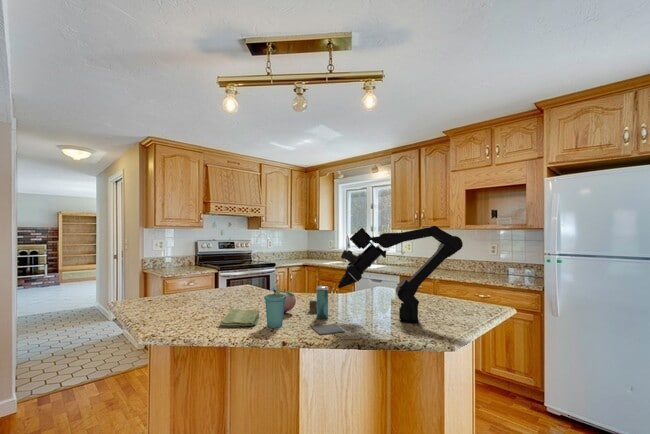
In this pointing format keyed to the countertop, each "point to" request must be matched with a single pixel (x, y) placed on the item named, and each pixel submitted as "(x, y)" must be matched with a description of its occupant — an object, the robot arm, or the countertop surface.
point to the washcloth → (240, 318)
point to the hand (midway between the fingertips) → (339, 285)
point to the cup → (275, 307)
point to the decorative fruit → (288, 300)
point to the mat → (327, 329)
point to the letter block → (313, 305)
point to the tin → (322, 302)
